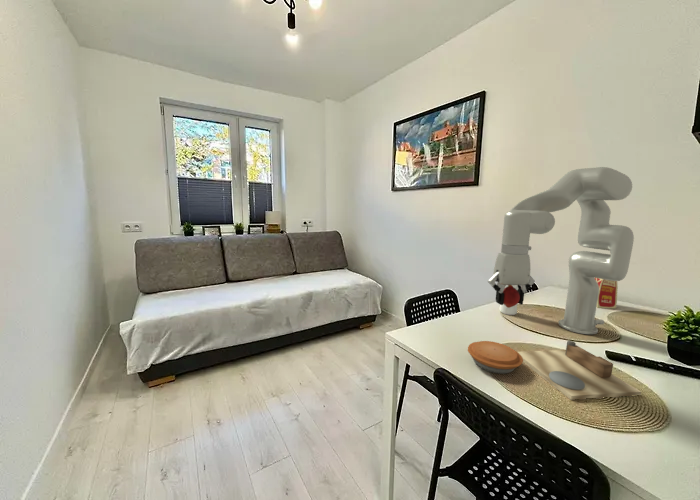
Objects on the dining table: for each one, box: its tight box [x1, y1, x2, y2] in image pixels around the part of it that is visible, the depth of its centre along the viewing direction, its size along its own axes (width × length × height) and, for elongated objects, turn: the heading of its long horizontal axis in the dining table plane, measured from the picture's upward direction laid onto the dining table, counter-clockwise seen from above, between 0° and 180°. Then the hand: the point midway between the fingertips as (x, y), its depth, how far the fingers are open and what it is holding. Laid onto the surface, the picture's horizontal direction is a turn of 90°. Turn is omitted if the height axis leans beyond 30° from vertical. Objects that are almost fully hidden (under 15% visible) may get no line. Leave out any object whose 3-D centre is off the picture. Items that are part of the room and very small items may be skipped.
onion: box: [503, 285, 520, 308], centre depth 95 cm, size 6×6×8 cm
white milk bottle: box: [499, 285, 519, 316], centre depth 131 cm, size 7×7×25 cm
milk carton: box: [595, 278, 619, 310], centre depth 142 cm, size 9×9×20 cm
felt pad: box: [549, 371, 585, 390], centre depth 80 cm, size 8×8×1 cm
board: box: [517, 349, 642, 401], centre depth 85 cm, size 20×22×1 cm
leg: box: [565, 340, 613, 378], centre depth 87 cm, size 13×2×4 cm, turn 7°
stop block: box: [597, 356, 614, 376], centre depth 84 cm, size 2×4×4 cm, turn 5°
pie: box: [467, 340, 524, 375], centre depth 90 cm, size 16×16×5 cm
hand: (509, 302), depth 95 cm, fingers closed on onion, 5 cm apart
